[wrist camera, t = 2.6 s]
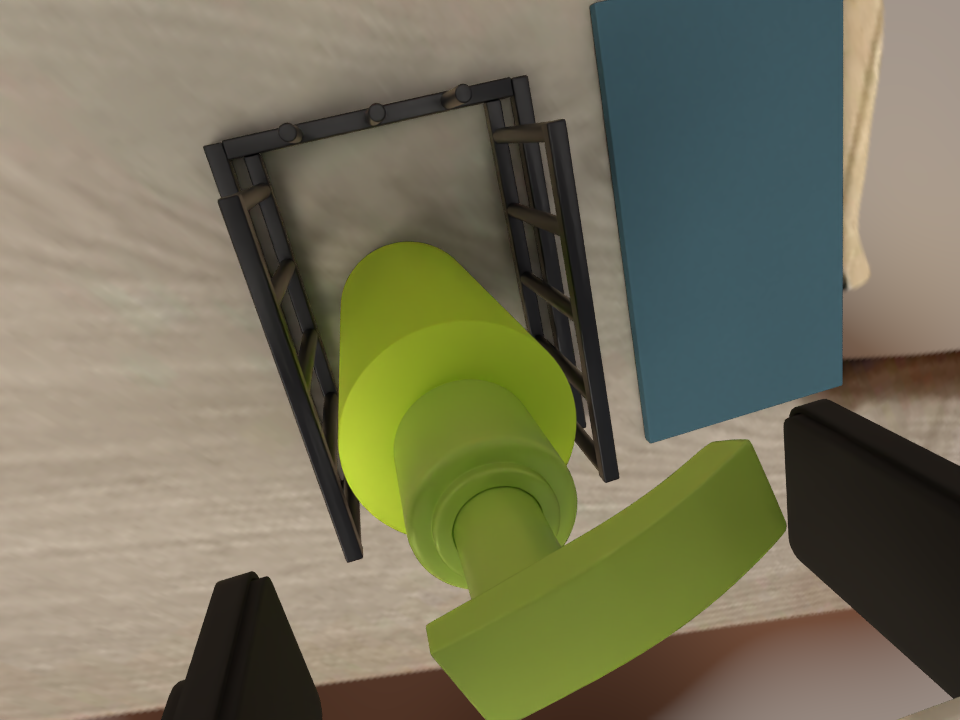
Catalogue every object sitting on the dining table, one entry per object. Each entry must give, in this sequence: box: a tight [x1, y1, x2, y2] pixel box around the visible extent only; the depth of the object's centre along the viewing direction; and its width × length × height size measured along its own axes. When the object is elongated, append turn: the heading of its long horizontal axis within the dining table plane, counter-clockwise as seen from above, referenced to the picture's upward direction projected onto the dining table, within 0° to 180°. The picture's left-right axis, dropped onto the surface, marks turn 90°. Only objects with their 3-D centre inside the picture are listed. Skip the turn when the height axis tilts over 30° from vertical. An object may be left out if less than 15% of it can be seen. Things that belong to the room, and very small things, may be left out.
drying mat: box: [590, 0, 843, 443], centre depth 29 cm, size 20×11×1 cm, turn 12°
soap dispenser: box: [338, 242, 787, 720], centre depth 18 cm, size 6×7×20 cm
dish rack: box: [203, 75, 619, 563], centre depth 23 cm, size 16×13×8 cm
